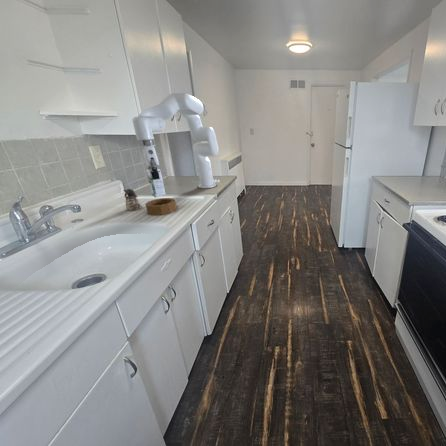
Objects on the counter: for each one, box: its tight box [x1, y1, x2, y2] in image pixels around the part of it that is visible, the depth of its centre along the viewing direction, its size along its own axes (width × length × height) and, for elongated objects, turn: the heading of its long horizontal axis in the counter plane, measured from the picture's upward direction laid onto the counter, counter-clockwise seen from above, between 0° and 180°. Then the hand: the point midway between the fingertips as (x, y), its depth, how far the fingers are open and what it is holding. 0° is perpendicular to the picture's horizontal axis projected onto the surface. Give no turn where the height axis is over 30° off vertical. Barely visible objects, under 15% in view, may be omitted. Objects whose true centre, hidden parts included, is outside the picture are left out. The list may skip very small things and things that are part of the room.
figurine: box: [123, 188, 142, 212], centre depth 144 cm, size 7×7×12 cm
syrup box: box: [145, 168, 167, 199], centre depth 137 cm, size 6×6×14 cm
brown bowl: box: [144, 197, 178, 216], centre depth 142 cm, size 15×15×5 cm
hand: (154, 177), depth 136 cm, fingers closed on syrup box, 6 cm apart
